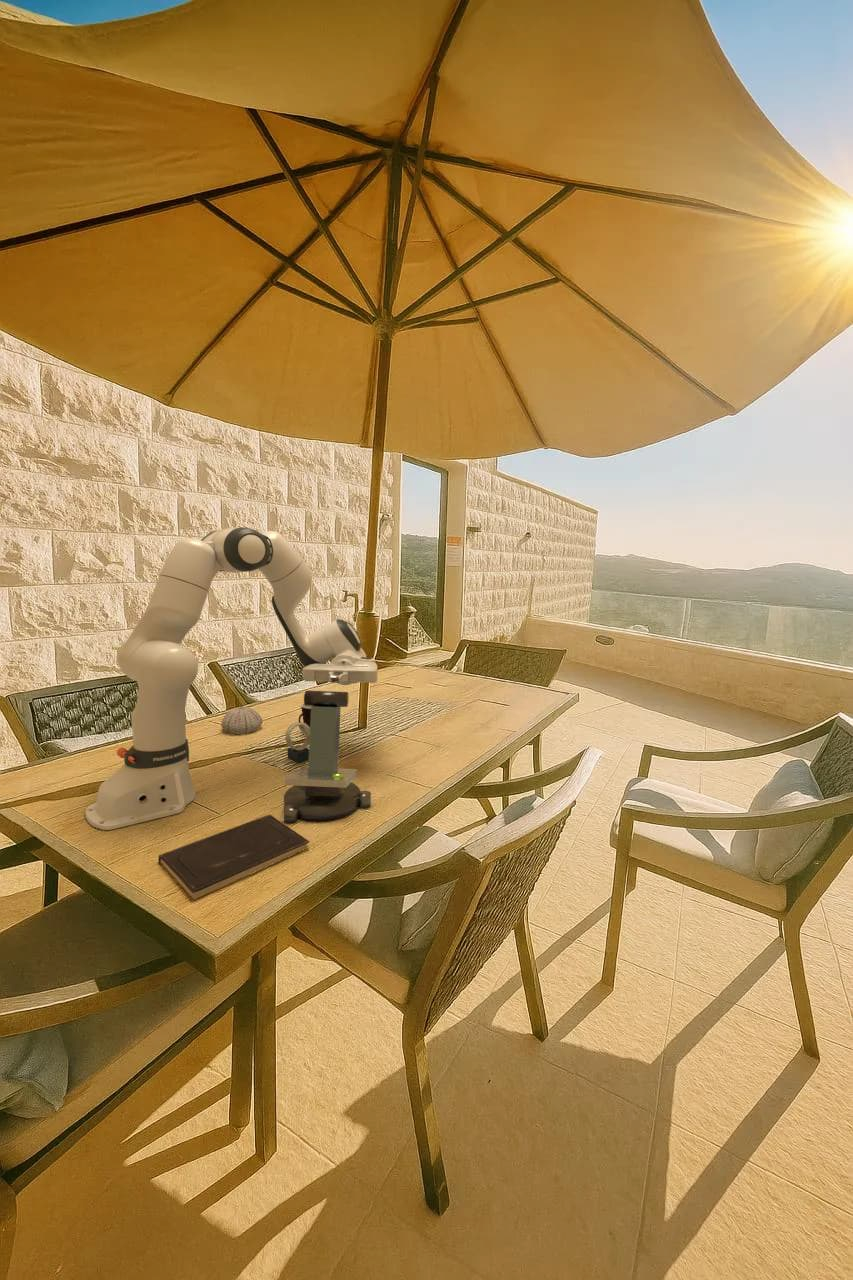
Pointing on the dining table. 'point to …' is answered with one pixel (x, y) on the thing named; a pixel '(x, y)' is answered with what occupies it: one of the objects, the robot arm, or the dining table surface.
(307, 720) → the coffee mug
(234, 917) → the dining table surface
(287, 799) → the tribrach base
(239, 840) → the hardcover book
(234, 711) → the sea urchin shell
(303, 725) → the watch
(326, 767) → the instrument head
